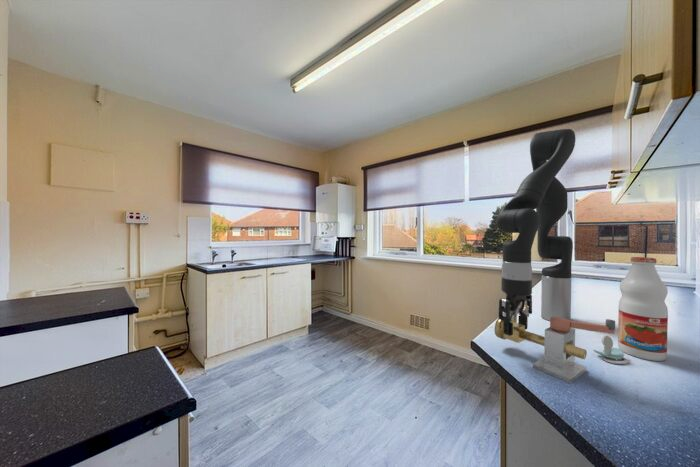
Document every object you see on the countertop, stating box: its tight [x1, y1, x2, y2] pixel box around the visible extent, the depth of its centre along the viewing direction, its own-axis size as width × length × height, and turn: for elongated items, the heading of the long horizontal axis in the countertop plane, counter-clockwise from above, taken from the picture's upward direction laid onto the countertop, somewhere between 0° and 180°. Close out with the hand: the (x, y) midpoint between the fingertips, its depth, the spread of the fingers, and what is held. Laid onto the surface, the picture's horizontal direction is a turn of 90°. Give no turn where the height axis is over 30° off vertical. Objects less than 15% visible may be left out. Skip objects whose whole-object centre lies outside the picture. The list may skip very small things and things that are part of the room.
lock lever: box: [549, 317, 616, 335], centre depth 64 cm, size 12×4×4 cm, turn 60°
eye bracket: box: [532, 326, 588, 384], centre depth 66 cm, size 10×8×10 cm
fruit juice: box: [617, 256, 669, 362], centre depth 74 cm, size 9×9×28 cm
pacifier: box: [592, 335, 630, 365], centre depth 71 cm, size 7×6×6 cm
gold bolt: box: [494, 317, 588, 360], centre depth 71 cm, size 6×20×6 cm, turn 31°
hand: (515, 331), depth 75 cm, fingers open, 8 cm apart
